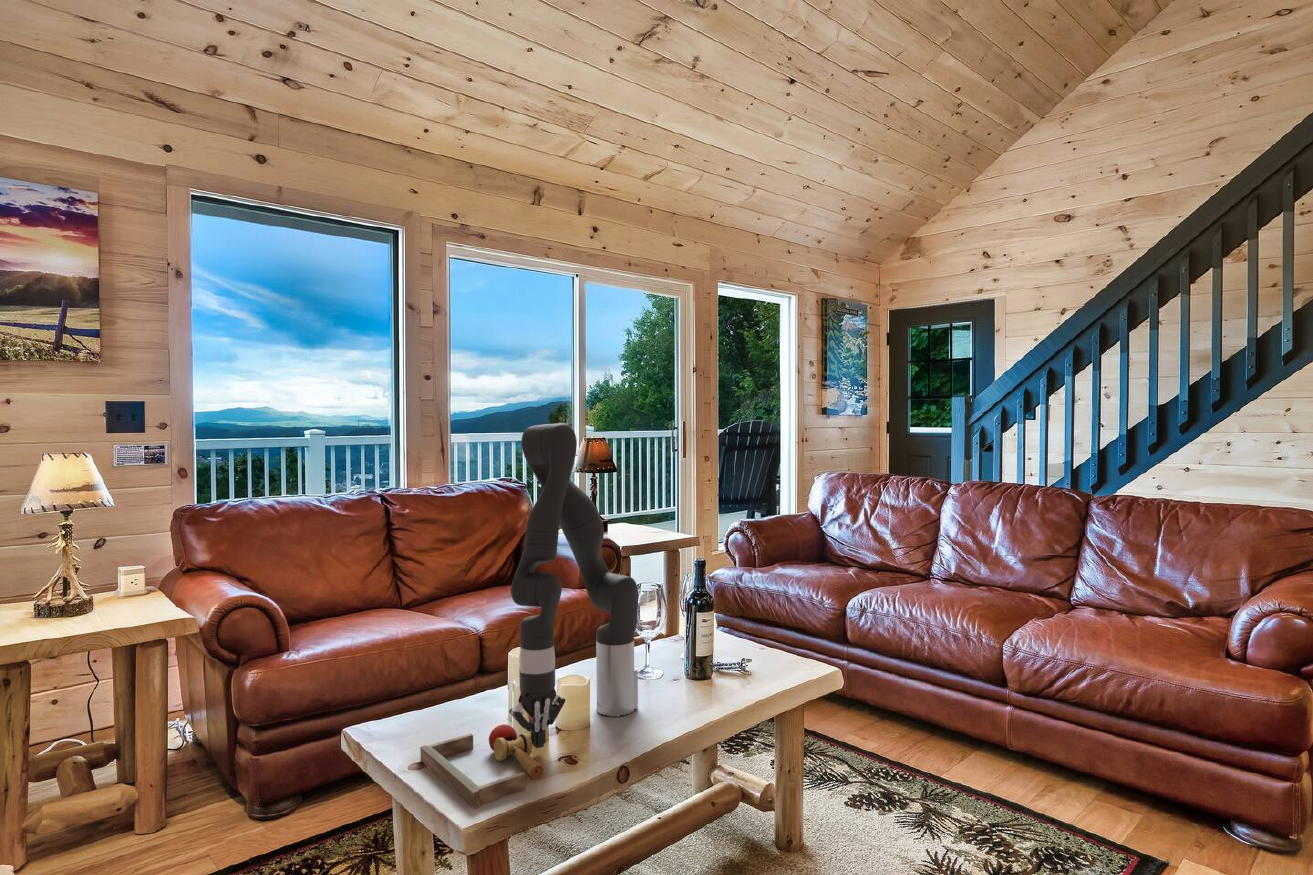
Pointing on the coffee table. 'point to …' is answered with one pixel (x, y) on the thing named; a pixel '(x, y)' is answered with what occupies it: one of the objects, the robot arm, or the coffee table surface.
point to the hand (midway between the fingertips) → (538, 746)
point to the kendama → (514, 748)
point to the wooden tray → (462, 783)
